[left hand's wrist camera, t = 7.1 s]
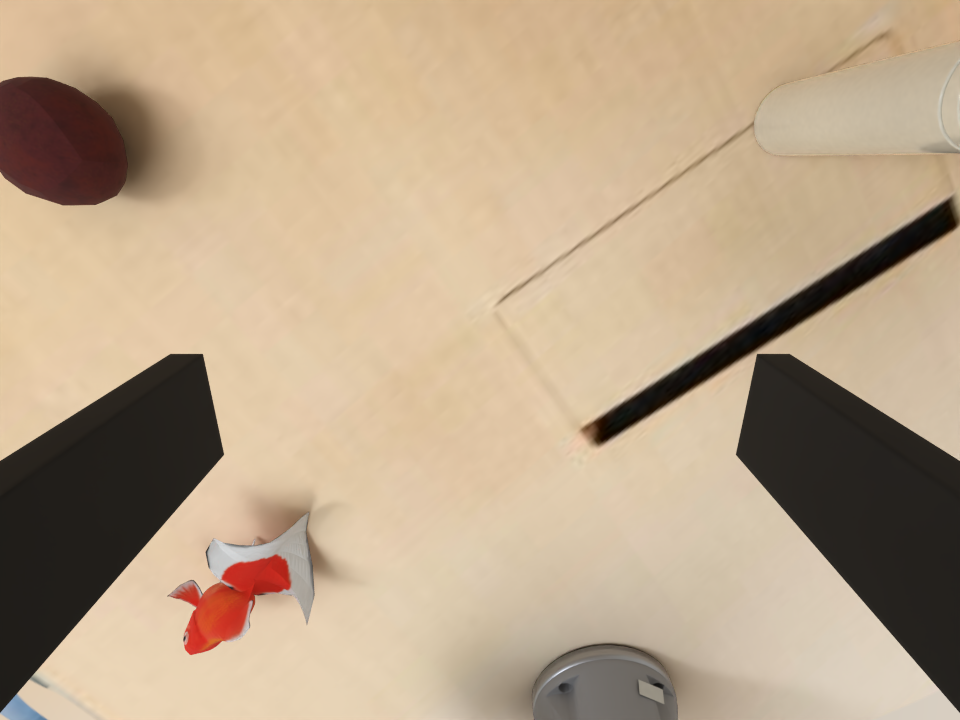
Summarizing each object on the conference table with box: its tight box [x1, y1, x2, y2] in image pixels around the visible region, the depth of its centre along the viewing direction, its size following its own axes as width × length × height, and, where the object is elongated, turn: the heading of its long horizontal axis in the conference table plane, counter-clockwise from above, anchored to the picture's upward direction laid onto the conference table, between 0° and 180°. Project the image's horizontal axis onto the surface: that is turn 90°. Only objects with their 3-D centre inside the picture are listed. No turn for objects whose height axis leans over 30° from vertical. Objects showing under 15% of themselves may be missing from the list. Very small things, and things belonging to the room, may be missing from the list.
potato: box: [0, 77, 128, 205], centre depth 33 cm, size 7×8×7 cm
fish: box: [168, 512, 314, 655], centre depth 45 cm, size 11×16×10 cm
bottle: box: [754, 40, 960, 156], centre depth 26 cm, size 5×5×21 cm
